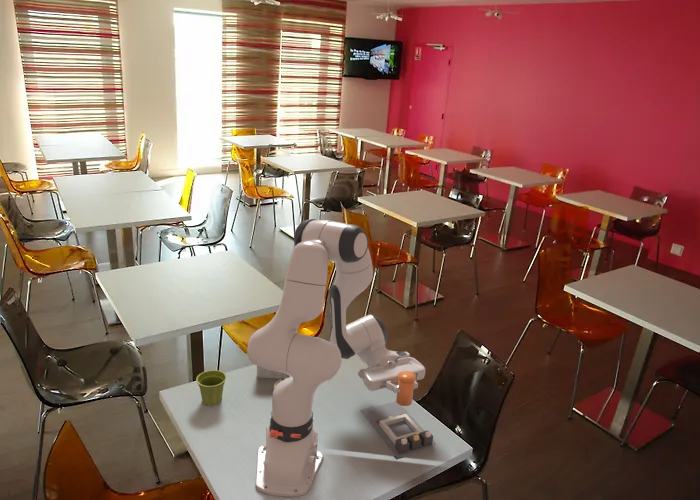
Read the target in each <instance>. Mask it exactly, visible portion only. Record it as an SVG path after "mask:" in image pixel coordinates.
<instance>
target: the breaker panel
mask: <svg viewBox="0 0 700 500" xmlns="http://www.w3.org/2000/svg"><path fill="white" fill-rule="evenodd" d="M360 411H361V413H362V414H363V416H364V417H365V418H366V419H367V420H368V422H369V423H370V424H371V425H372V427H373V428H374V429H375V432H376V433H378V434H379V436H380V437H381V439H382V440H383V441H384V442H385V443H386V445H387V446H388V447H389V449H390V450H391V451H392V453H393V454H394V455H393V457H394V458H395V459H396V460H401V459H403V458H404V455H408V454H411V453H414V452H418V451H421V450H423V449H427V448H430V447H433V446H436V445H437V443H436V442H435V441H434V435H433V434H432V431H429V430H425V429H423V427H422V426H421V425H420V424H419V423H418V422H417V421H416V420H415V419H414V418H413V416H412V415H411V414H410V413H409V411H407V410H406V409H405V407H404V406H401V405H399V404H398V403H397V402H396V400H395V401H391V402H388V403H382V404H380V405H376V406H372V407H368V408H364V409H362V410H361V409H360Z"/></svg>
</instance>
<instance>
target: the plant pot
mask: <svg viewBox="0 0 700 500" xmlns="http://www.w3.org/2000/svg"><path fill="white" fill-rule="evenodd" d="M226 380H227V375H226V373H224V372H223V371H221V370H216V369H211V370H205V371H202V372H201V373H199V374H198V375H197V376H196V379H195V381H196V384H197V385H198V387H199V389H200V390H199V391H200V396H201V400H202V403H203V404H204V405H205V406H212V407H213V406H217V405H219V404H220V403H221V401H222V400H223V393H224V392H223V391H224V386H225V382H226Z"/></svg>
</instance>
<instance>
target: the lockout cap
mask: <svg viewBox="0 0 700 500" xmlns="http://www.w3.org/2000/svg"><path fill="white" fill-rule="evenodd" d="M398 378H399V379H398V386H399V387H400V392H399V393H396V399H395V401H396V402H397V403H398V404H399V405H401V406H403V407H408V406H411V405H412V403H413V396H414V390H415V389H414V382H415V380H416V375H415V374H414V373H412V372H410V371H401V372H399V373H398ZM416 381H417V380H416Z"/></svg>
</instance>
